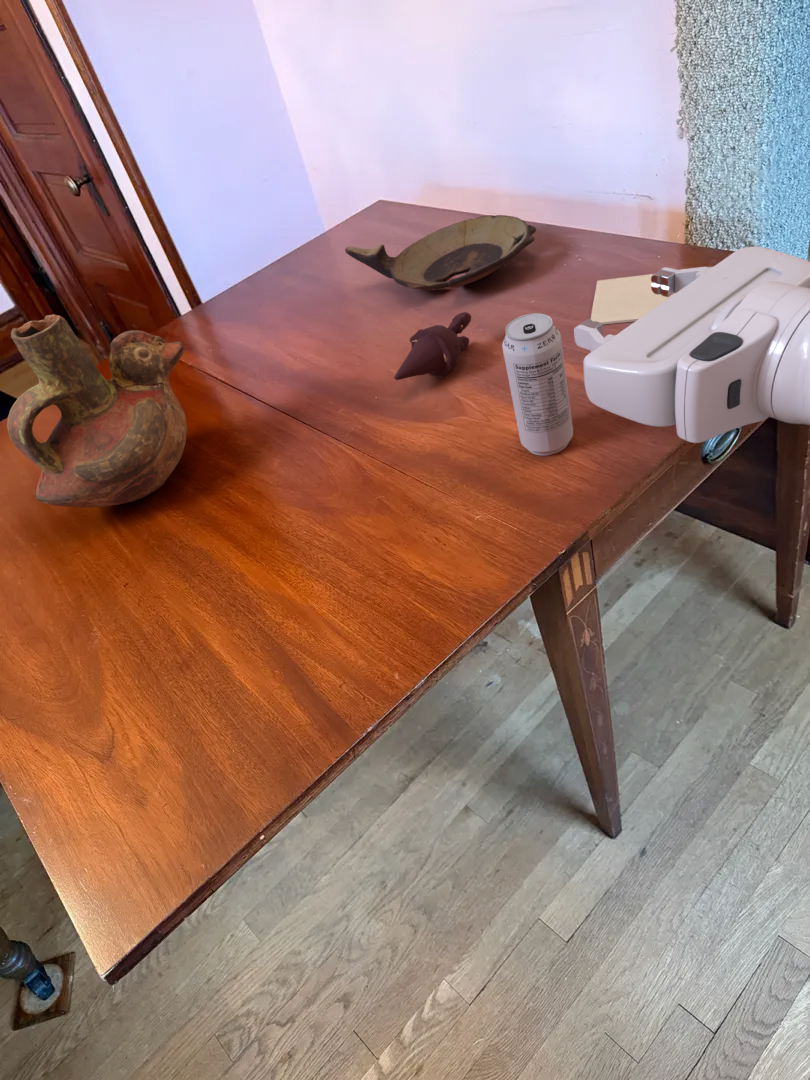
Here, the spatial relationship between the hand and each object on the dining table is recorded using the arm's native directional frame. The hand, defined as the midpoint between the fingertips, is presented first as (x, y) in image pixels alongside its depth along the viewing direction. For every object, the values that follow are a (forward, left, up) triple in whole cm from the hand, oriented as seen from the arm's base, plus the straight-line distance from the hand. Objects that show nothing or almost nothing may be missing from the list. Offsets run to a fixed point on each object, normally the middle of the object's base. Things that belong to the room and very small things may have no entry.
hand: (619, 304), depth 63 cm
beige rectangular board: (-1, -40, -21) cm, 45 cm away
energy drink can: (+10, -9, -21) cm, 25 cm away
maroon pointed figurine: (+27, -25, -21) cm, 43 cm away
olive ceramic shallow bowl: (+32, -55, -21) cm, 67 cm away
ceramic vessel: (+64, -4, -21) cm, 67 cm away
